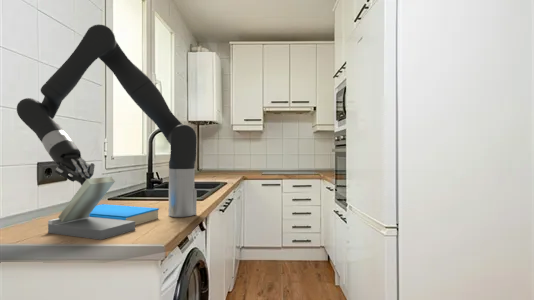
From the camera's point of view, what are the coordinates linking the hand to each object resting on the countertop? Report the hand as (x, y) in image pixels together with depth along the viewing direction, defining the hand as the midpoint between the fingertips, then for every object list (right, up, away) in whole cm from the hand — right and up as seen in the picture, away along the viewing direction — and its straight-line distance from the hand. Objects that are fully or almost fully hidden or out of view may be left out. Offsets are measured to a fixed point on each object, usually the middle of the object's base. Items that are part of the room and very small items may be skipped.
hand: (91, 188), depth 105 cm
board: (+1, -12, 0) cm, 12 cm away
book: (-1, -13, +16) cm, 21 cm away
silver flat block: (-1, -4, 0) cm, 4 cm away
